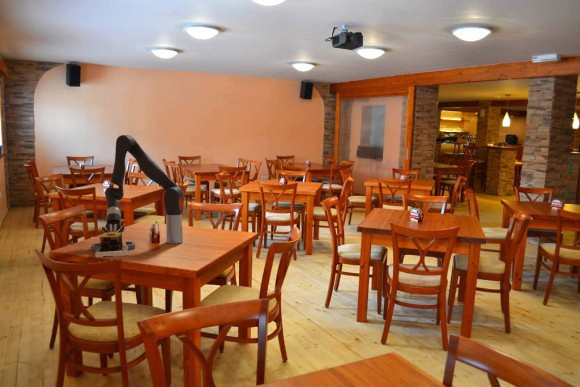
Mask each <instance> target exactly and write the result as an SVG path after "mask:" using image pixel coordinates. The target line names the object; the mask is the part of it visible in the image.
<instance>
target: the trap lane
mask: <svg viewBox="0 0 580 387" xmlns="http://www.w3.org/2000/svg"><path fill="white" fill-rule="evenodd" d="M100 246H101V244H100V242H95V243H92V244H91V247H90V250H91V252H95V258H104V257H103V256H113V257H127V256H126V255H128V254H129V250H135V249H136V241H135V240H134V241H133V240H131V241H130V240H127V241H125V245H124V246H125V247H124V250H122V251H109V252H100Z"/></svg>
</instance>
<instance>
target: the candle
mask: <svg viewBox="0 0 580 387" xmlns="http://www.w3.org/2000/svg"><path fill="white" fill-rule="evenodd" d="M99 241H100V242H99V243H100V244H101V246H100V252H109V251H124V244H123V232H122V233H114V232H113V233H110V232H109V233H104V232H103V233H102V235H100V236H99Z"/></svg>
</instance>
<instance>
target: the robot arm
mask: <svg viewBox="0 0 580 387" xmlns="http://www.w3.org/2000/svg"><path fill="white" fill-rule="evenodd" d="M116 138H117V139H116V140H115V154H114V164H113V170H112V175H111V179H110V183H111V184H114V186H115V185H116V186H118V187H112V186H111V187H110V186H108V187H107V188H106V189H105V191H104V197H105V200H106V202H107V211H106V224H105V226H103V227H101V231H102V232H103V233H122V234H123V232H124V231H125V230H126V226H123V225H122V223H121V220H122V218H121V216H122V215H121V214H122V212H121V202H120V201H121V200H122V199H123V198H124V196H125V195H124V181H125V176H126V157H127V154H128V153H129V154H130V155H131V156H132V157H133V158H134V159H135V161H136V163H137V165H138V167H139V169H140V170H141V172H142V173H143V174H144V175H145V176H146V177H147V178H148V179H149V180H150V181H152V182H154V183H155V184H157V185H158V186H160V187H161V188H162V189H163V190H164V193H163V203H164V204H163V206H164V211H165V225H166V226H165V227H166V228H165V229H166V238H165V239H166V244H167V243H168V244H171V245H174V244H177V245H178V244H181V243H183V240H184V239H183V210H182V208H181V206H180V202H181V201H182V200H183V198H184V191H183V190H182V188H181V187H180V186H179V185H177V184H176V183H175V182H174V181H173V180H172V179H171V178H170V177H169V176H168V175H167V174H166V173H165V171H163V169H162V168H161V167H160V166H159V164H157V163H156V161H155V160H153V158H152V157H151V156H150V155H149V154H148V153H147V152H146V151H145V150H144V149H143V148H142V147H141V145H140V144H139V142H138V141H137V140H136V138H134V137H133V136H131V135H128V134H122V135H119V136H118V137H116Z"/></svg>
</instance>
